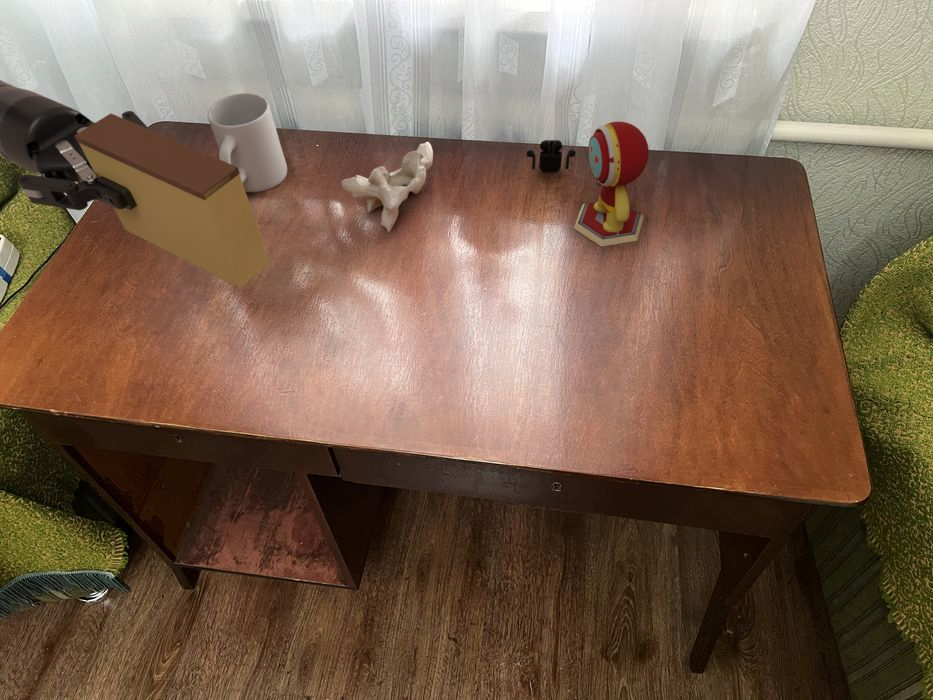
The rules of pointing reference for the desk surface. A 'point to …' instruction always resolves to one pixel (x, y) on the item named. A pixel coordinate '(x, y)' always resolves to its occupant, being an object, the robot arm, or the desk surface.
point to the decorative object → (392, 184)
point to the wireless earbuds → (550, 156)
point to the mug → (249, 140)
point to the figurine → (614, 184)
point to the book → (179, 198)
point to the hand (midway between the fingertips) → (150, 186)
